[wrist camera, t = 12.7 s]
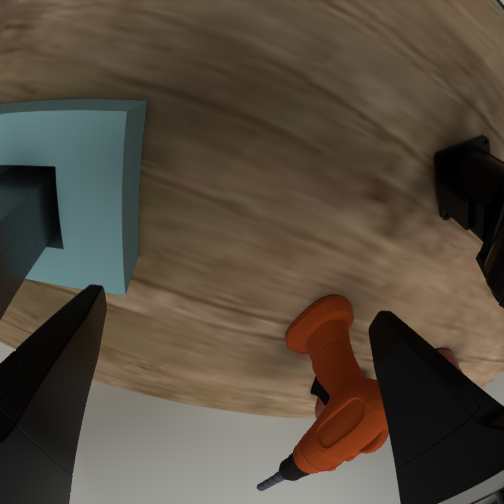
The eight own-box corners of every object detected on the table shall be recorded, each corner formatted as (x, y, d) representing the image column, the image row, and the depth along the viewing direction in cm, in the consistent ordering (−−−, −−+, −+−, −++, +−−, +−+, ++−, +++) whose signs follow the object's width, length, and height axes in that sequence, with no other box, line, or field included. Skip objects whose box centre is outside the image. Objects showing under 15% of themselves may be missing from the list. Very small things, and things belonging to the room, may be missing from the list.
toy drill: (225, 398, 34) (242, 512, 21) (320, 282, 28) (397, 418, 14) (259, 405, 36) (283, 510, 23) (356, 298, 29) (432, 417, 16)
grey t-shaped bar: (76, 140, 17) (-58, 257, 6) (79, 216, 20) (-7, 362, 9) (32, 140, 16) (-102, 244, 5) (38, 212, 20) (-55, 341, 9)
